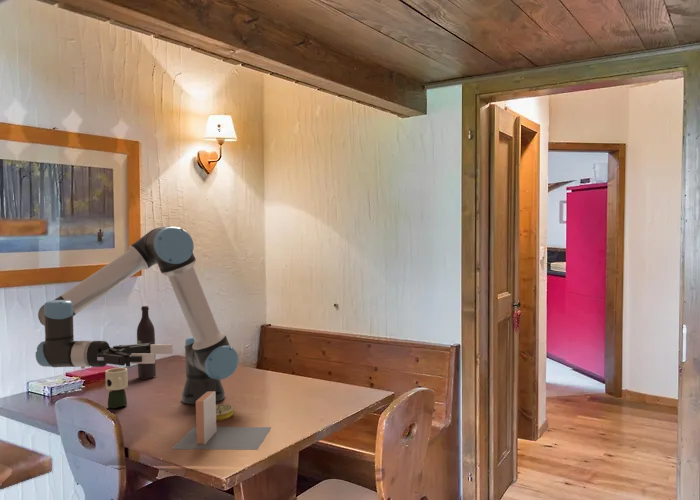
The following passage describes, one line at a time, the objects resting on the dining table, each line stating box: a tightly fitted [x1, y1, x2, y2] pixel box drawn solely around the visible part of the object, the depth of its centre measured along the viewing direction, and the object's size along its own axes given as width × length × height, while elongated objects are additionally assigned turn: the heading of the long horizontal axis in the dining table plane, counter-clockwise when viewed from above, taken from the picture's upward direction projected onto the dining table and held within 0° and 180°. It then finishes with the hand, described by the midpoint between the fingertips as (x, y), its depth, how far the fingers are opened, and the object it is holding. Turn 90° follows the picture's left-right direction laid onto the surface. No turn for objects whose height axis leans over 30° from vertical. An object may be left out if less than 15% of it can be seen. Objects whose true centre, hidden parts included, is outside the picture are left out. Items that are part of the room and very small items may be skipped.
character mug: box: [104, 367, 129, 409], centre depth 199 cm, size 11×7×13 cm, turn 34°
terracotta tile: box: [195, 391, 217, 444], centre depth 166 cm, size 10×2×12 cm, turn 176°
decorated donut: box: [216, 403, 235, 422], centre depth 185 cm, size 10×11×4 cm
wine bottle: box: [136, 305, 157, 379], centre depth 241 cm, size 7×7×30 cm
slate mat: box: [171, 426, 272, 451], centre depth 166 cm, size 18×24×1 cm
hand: (163, 353), depth 166 cm, fingers open, 12 cm apart
